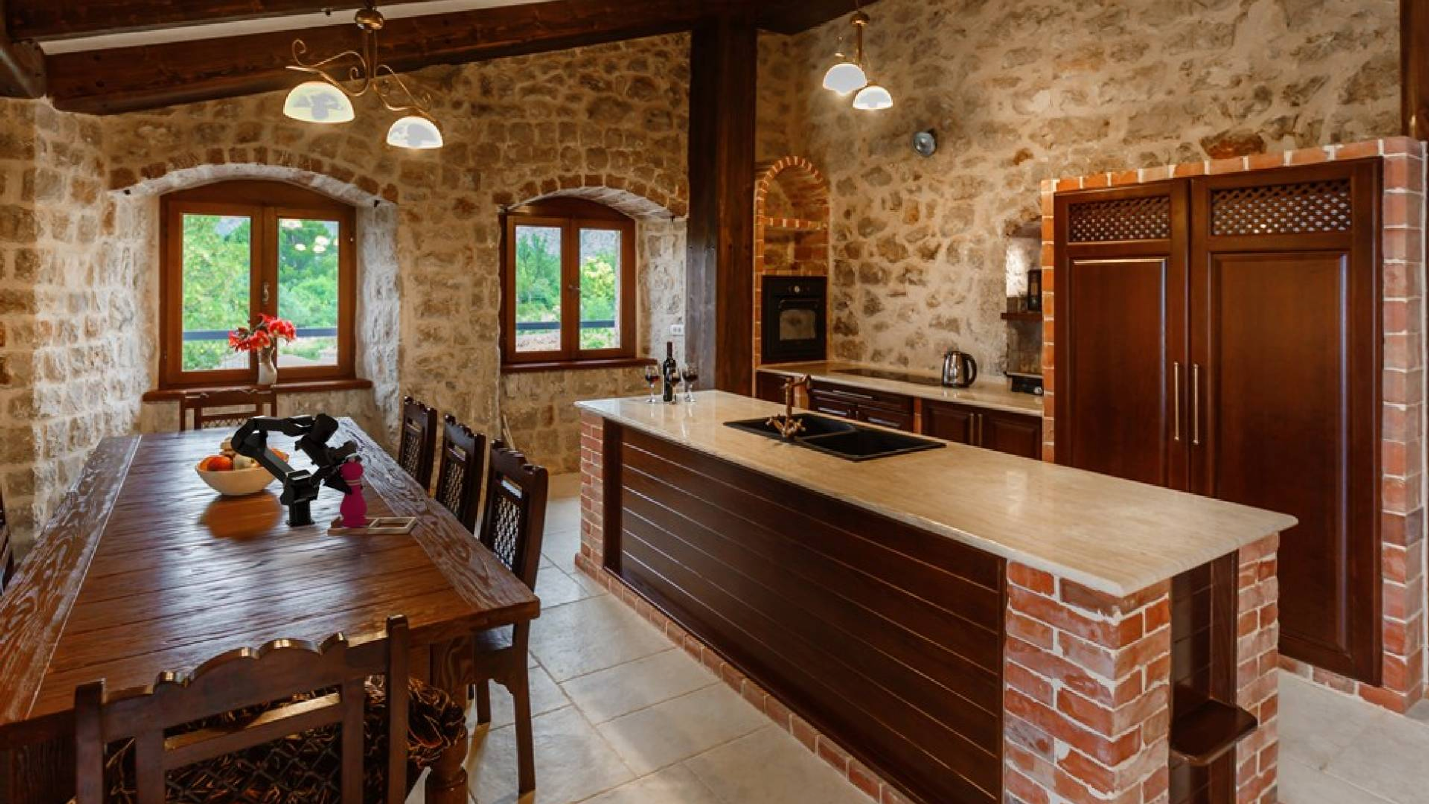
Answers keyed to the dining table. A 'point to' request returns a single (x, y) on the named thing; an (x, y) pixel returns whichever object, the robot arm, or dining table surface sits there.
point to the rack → (373, 526)
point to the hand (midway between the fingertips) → (357, 491)
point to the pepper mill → (353, 495)
